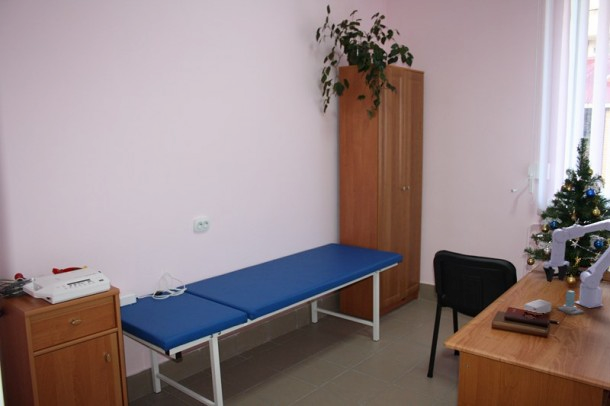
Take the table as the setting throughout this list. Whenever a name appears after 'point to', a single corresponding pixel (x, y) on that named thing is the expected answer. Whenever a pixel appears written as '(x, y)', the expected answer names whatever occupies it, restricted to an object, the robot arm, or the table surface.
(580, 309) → the rubber mat
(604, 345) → the table surface
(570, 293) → the pusher tool
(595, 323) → the table surface
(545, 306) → the skincare box
